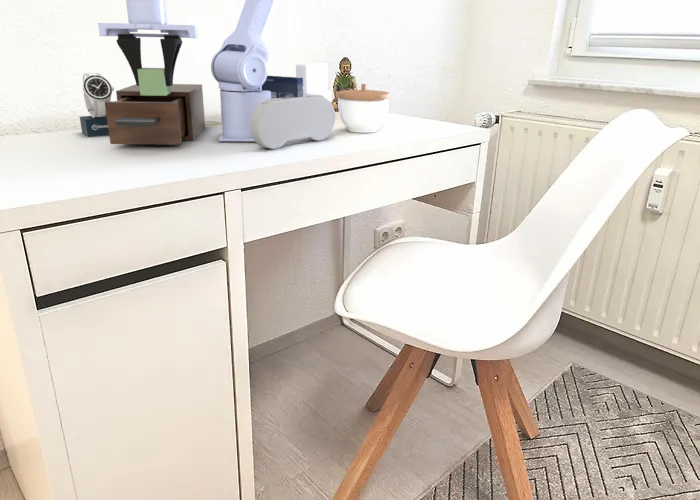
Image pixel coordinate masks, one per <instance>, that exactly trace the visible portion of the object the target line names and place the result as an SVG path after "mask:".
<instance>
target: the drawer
mask: <svg viewBox="0 0 700 500" xmlns="http://www.w3.org/2000/svg"><path fill="white" fill-rule="evenodd" d="M105 109H106V116H107V123H108V130H109V135H108V137H109V144H110V145H177V146H178V145H179V146H180V145H181V144H182V143H183V142H182V141H183V140H181V137H182V136H184V135H185V134H186V133H187V132H188V123H187V111H186V100H185V97H182V96H127V97H125V98H122V99H120V100H117V99H116V100H114V101H111V100H110V101H107V102H105Z"/></svg>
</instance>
